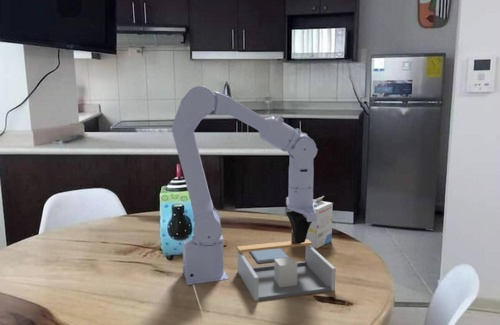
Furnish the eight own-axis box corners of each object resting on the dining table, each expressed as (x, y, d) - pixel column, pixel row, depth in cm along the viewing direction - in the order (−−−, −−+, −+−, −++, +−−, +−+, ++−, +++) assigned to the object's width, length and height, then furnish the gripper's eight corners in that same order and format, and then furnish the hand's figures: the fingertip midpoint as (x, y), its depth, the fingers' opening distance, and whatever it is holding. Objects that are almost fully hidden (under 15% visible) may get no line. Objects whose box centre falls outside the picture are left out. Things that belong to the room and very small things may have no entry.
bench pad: (258, 264, 111) (258, 260, 110) (249, 253, 118) (249, 248, 118) (288, 261, 113) (288, 257, 112) (278, 250, 120) (278, 245, 120)
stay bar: (239, 252, 103) (239, 240, 102) (237, 248, 105) (236, 236, 105) (311, 245, 108) (311, 233, 107) (307, 241, 110) (308, 229, 109)
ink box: (307, 235, 132) (308, 191, 129) (332, 241, 127) (333, 196, 124) (290, 243, 125) (291, 197, 123) (316, 250, 120) (317, 202, 118)
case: (254, 303, 92) (254, 277, 91) (237, 273, 106) (237, 251, 105) (334, 292, 96) (335, 268, 95) (308, 265, 110) (308, 243, 109)
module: (279, 287, 98) (280, 265, 97) (274, 279, 101) (274, 258, 100) (297, 285, 99) (297, 263, 98) (290, 277, 102) (291, 257, 101)
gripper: (330, 192, 97) (328, 251, 100) (305, 178, 111) (304, 230, 113) (299, 194, 95) (298, 254, 98) (278, 180, 109) (277, 233, 112)
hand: (299, 241), depth 105 cm, fingers closed
